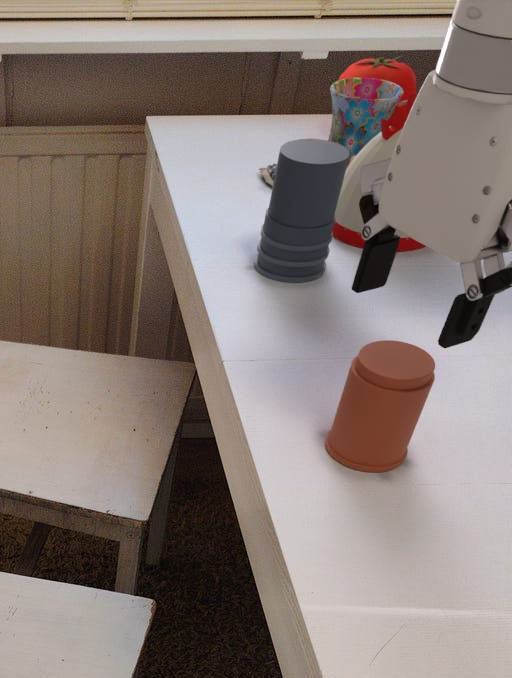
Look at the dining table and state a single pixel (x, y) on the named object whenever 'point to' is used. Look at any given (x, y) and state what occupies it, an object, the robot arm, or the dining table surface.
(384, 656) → the dining table surface
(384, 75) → the tomato
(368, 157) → the kitchen timer
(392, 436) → the terracotta cup
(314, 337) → the dining table surface
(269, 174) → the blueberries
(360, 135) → the mug
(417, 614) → the dining table surface
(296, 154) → the cup stack
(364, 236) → the robot arm
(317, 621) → the dining table surface
